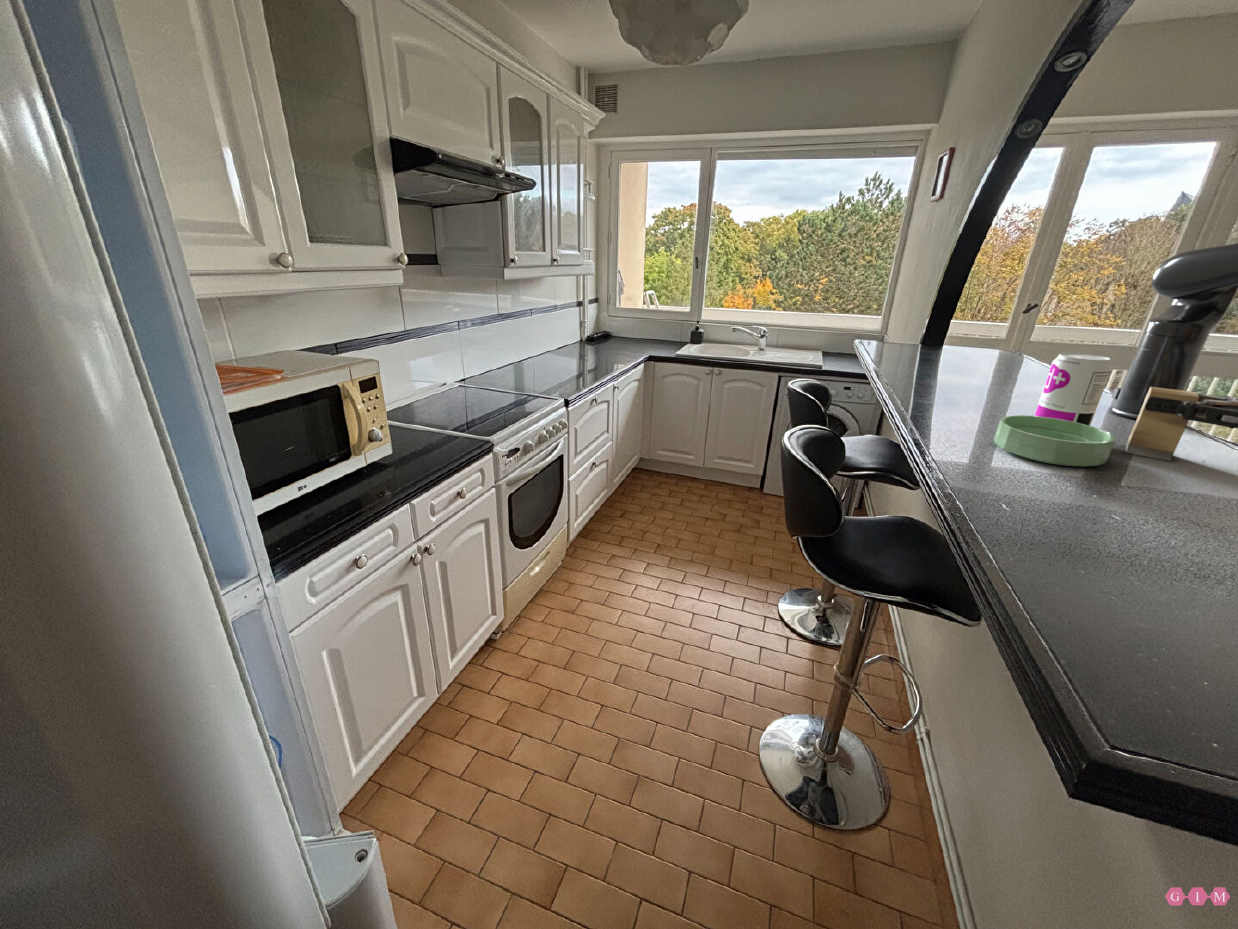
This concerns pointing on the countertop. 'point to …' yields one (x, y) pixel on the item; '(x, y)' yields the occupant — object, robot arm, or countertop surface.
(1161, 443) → the light brown wooden block
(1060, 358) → the supplement can
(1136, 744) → the countertop surface
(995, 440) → the bowl
